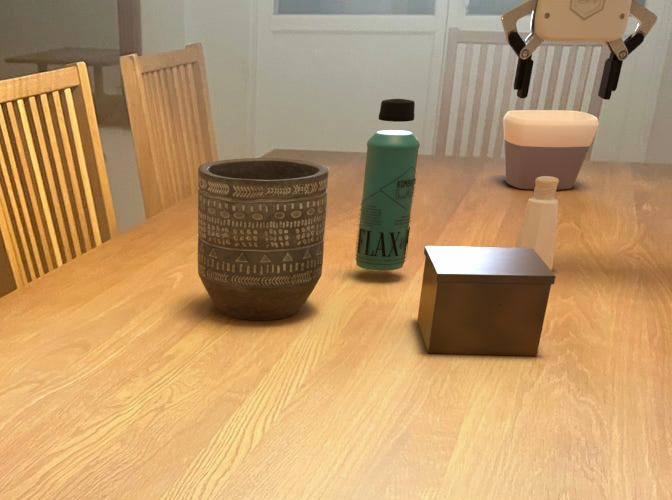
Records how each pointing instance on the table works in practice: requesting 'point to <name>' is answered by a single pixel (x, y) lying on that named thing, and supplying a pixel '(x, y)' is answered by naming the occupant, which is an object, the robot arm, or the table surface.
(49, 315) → the table surface
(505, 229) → the table surface
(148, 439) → the table surface
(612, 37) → the robot arm
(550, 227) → the cream bottle
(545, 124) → the bowl
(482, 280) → the walnut box
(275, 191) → the planter
